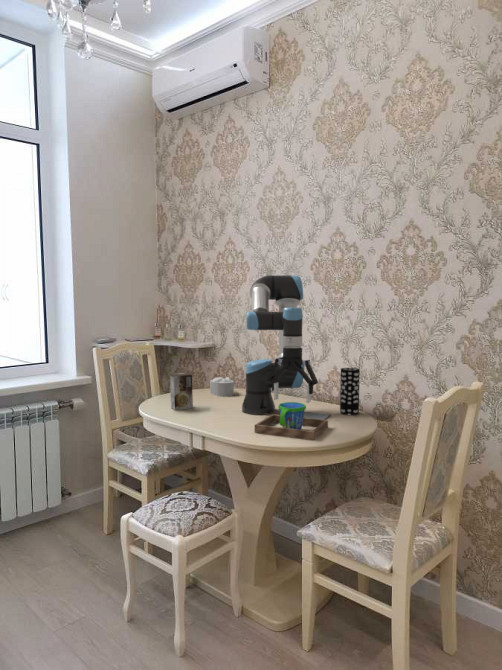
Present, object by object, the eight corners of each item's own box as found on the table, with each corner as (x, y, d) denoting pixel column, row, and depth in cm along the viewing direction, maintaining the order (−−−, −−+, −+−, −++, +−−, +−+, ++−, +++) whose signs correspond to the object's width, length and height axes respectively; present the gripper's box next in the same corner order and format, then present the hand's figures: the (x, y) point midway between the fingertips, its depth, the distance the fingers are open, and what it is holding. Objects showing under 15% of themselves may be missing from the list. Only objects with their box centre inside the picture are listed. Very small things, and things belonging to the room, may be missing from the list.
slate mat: (286, 420, 221) (286, 418, 220) (297, 412, 234) (297, 411, 234) (320, 423, 214) (320, 422, 214) (330, 415, 228) (330, 414, 228)
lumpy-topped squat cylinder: (222, 391, 283) (222, 375, 282) (238, 394, 273) (238, 378, 272) (207, 393, 275) (207, 377, 275) (223, 397, 266) (223, 380, 265)
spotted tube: (358, 415, 228) (359, 370, 226) (339, 414, 230) (340, 370, 228) (358, 411, 236) (359, 368, 234) (340, 410, 238) (341, 367, 236)
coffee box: (188, 405, 248) (188, 372, 246) (193, 408, 242) (192, 374, 240) (170, 407, 244) (169, 373, 242) (174, 410, 238) (173, 375, 236)
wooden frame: (254, 432, 202) (254, 425, 201) (272, 421, 219) (272, 414, 218) (313, 440, 192) (313, 432, 191) (327, 427, 209) (328, 420, 209)
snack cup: (291, 436, 196) (291, 410, 195) (269, 431, 203) (269, 406, 202) (314, 428, 208) (314, 403, 207) (292, 423, 215) (292, 399, 214)
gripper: (259, 346, 204) (259, 399, 205) (320, 349, 194) (319, 405, 195) (266, 344, 211) (266, 396, 212) (326, 347, 200) (325, 401, 202)
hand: (292, 400), depth 204 cm, fingers open, 13 cm apart
